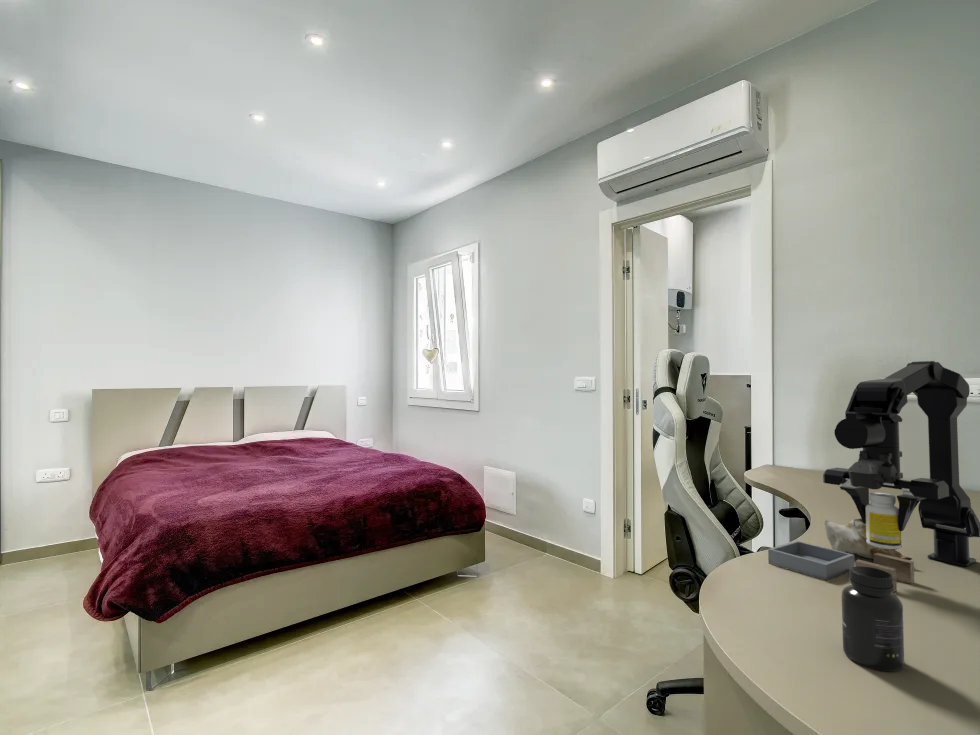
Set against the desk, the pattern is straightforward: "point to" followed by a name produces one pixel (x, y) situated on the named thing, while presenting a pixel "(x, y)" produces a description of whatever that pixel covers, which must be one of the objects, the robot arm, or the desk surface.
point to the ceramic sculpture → (855, 540)
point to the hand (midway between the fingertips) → (883, 527)
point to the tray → (811, 559)
